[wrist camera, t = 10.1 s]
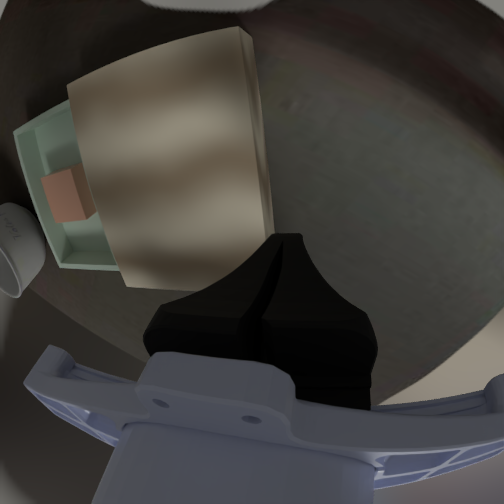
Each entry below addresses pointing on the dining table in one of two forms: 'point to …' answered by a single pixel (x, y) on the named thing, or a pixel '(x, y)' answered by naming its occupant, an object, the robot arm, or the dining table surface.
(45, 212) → the box
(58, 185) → the tile
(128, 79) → the beige banded block
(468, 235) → the dining table surface
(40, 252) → the teacup
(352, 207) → the dining table surface
